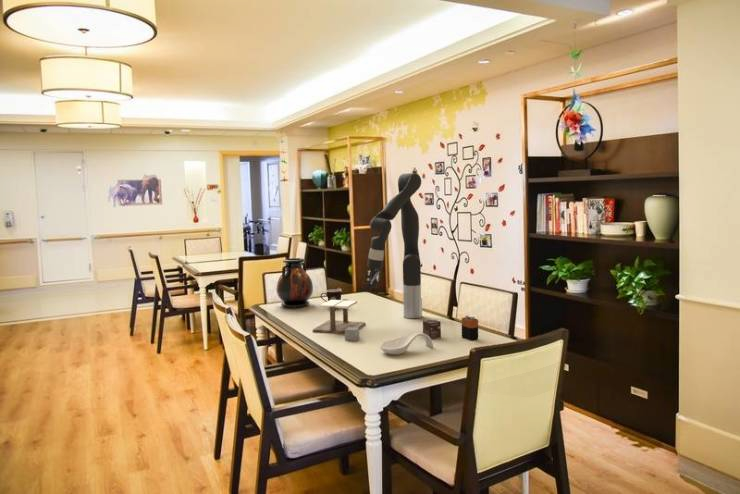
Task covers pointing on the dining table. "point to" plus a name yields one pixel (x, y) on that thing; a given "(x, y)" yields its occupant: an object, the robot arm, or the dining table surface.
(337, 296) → the coffee mug
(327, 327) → the stand
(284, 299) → the amphora vase
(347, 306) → the trapdoor
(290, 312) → the dining table surface
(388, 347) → the spoon rest
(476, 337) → the battery
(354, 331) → the gray cube
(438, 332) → the box
